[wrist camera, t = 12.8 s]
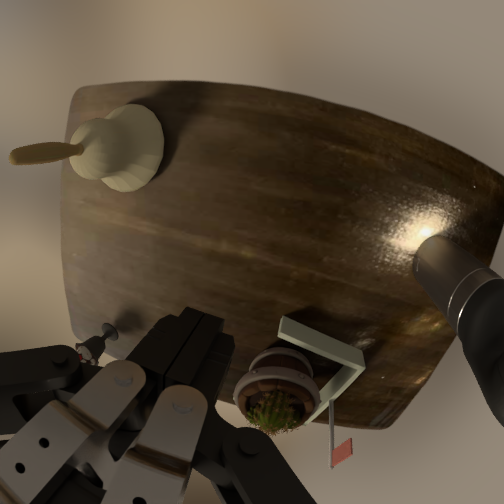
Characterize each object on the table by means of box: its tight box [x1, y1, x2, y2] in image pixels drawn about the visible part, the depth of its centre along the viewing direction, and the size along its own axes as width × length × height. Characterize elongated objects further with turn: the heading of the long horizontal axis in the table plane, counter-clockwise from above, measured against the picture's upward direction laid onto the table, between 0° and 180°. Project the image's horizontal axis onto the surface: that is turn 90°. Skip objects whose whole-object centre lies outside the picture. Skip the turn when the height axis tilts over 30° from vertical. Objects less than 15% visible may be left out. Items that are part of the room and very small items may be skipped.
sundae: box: [75, 323, 118, 366], centre depth 50 cm, size 7×7×15 cm
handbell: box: [9, 104, 164, 192], centre depth 30 cm, size 15×15×25 cm
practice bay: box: [233, 316, 366, 469], centre depth 41 cm, size 17×20×21 cm
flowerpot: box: [233, 347, 322, 435], centre depth 41 cm, size 14×15×20 cm
